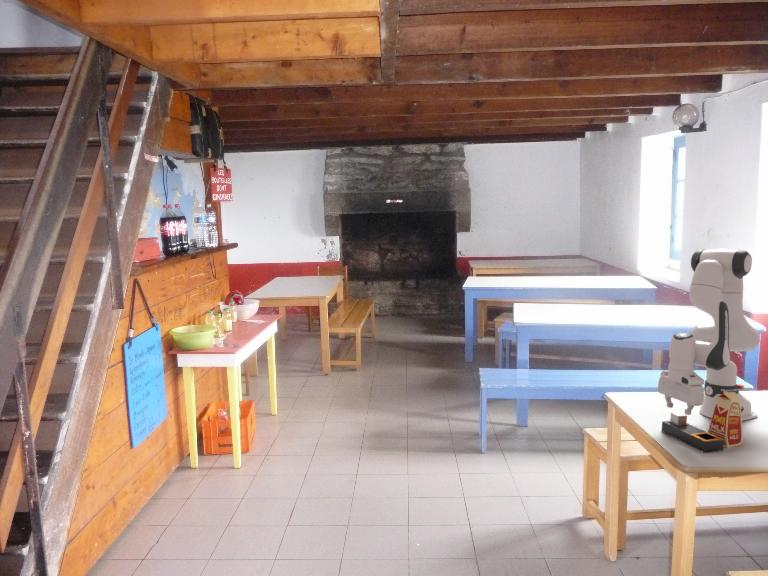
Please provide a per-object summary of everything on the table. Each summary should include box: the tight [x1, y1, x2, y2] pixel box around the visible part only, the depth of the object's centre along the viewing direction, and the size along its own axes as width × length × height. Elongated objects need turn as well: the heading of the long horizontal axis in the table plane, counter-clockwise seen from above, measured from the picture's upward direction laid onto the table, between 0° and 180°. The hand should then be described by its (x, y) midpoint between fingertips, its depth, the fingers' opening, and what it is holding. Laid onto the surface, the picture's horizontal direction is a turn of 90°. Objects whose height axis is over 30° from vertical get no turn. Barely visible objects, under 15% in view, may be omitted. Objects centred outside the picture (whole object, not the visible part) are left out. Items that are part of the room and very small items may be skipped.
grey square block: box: [669, 411, 688, 427], centre depth 232 cm, size 4×4×8 cm
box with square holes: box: [661, 420, 725, 454], centre depth 226 cm, size 8×22×4 cm, turn 15°
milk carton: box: [707, 391, 743, 449], centre depth 224 cm, size 9×9×20 cm
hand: (678, 410), depth 231 cm, fingers open, 8 cm apart
